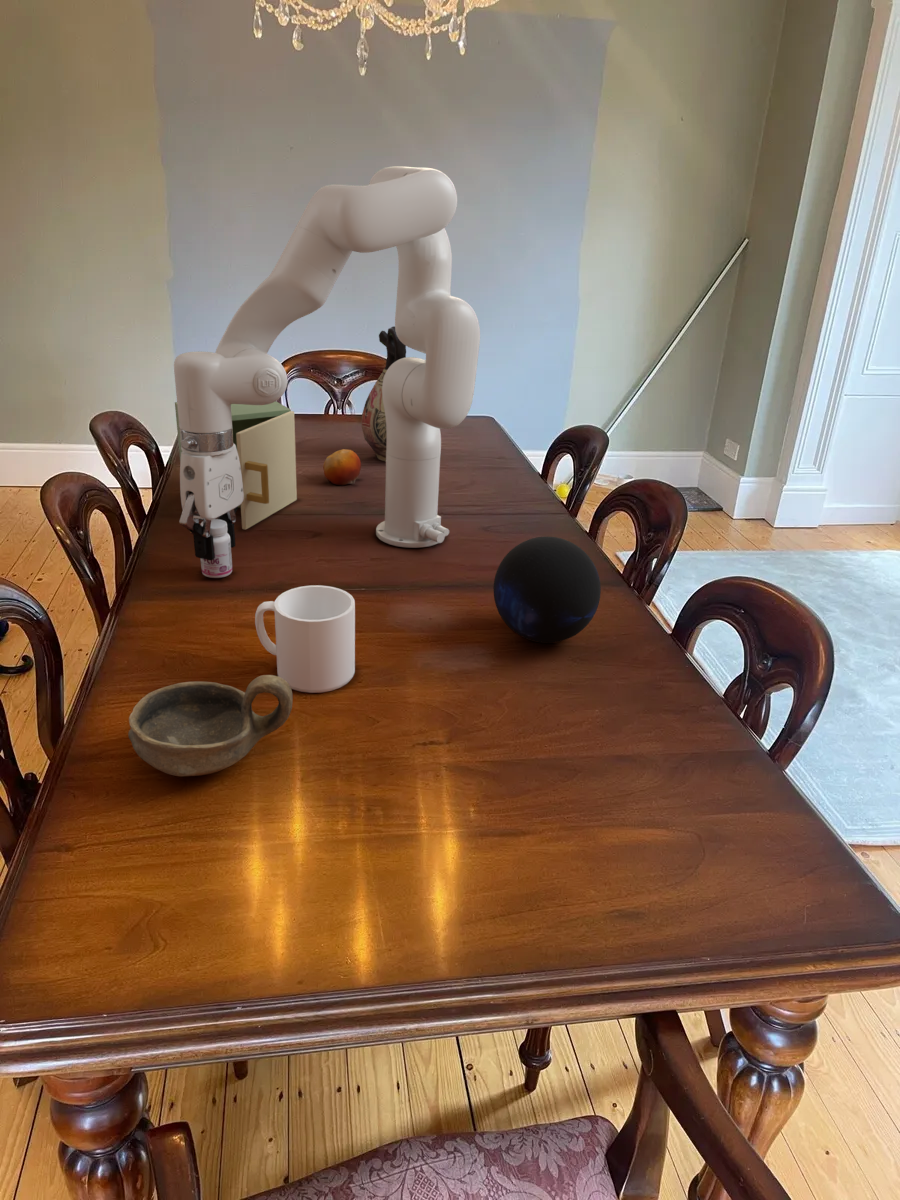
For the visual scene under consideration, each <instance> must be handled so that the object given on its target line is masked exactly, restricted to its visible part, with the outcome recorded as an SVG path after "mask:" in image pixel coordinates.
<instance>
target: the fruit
mask: <svg viewBox="0 0 900 1200" xmlns="http://www.w3.org/2000/svg"><path fill="white" fill-rule="evenodd" d="M322 465H323V466H322V467H323V468H322V469H323V474H324V477H325V478H326V480H328V481H329V482H330V483H331V484H333V485H336V486H346V485H355V482H356V480H359V481H360V478H358V477H359V475H360V472H361V469H362V463H361V459H360V457H359V456H358V454H357V453H356V452H354V450H352V449H346V448H345V449H344V448H343V449H339V450H337V451H334V452H333V453H332V454H330V455H328V456H326V459H325V460H324V461H323V464H322Z"/></svg>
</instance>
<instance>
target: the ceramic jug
mask: <svg viewBox="0 0 900 1200" xmlns="http://www.w3.org/2000/svg"><path fill="white" fill-rule="evenodd" d="M378 340H379V342H380V344H382V345H383V346H385V347H386V348H385V349H386V359H385V367H384V368H383V370H382V373H381V374H379V375H380V376H379V377H378V378H377V379H376V381H375V383H374V384H373V387H372V389H371V390H370V391H369V393H368V396H367V398H366V400H365V403H364V406H363V409H362V412H361V431H362V434H363V438H364V440H365V442H366V443H367V444H368V445H369V447H370V448H371V449H372V451H373V452H374V453H375V456H376V458H377V459H378V460H380V461H382V462H386V445H387V432H386V417H385V410H384V403H383V395H382V385H383V379H384V376H385V373H386V371H387V370H388V368H389V367H390V366H391V365H392V364H393V363H394V362H396V361H397V360H399V359H402V358H406V357H407V346H406V345H404V344H403V343H402V342H401V341H400V340H399V339H398V337H397V334H396V331H395V325H394V326H391V327H389V328H388V329H387V332H386V331H385V330H381V331H380V332H379V333H378Z"/></svg>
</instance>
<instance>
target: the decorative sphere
mask: <svg viewBox="0 0 900 1200" xmlns="http://www.w3.org/2000/svg"><path fill="white" fill-rule="evenodd" d="M601 587H602V586H601V580H600V575H599V572H598V569H597V567H596V565H595V563H594V561H593V560H592V559H591V557H590V556H589V555H588V553H587V552H585V551H584V550H583V548H581V547H580V546H579V545H577V544H575V543H574V542H572V541H569V540H567V539H564V538H561V537H557V536H537V537H532V538H529V539H527V540H524V541H523V542H521V543H518V544H517V545H515V547H513V548H512V549H510V551H509V552H507V553H506V554H505V556H504V557H503V558H502V560H501V561H500V563H499V565H498V567H497V570H496V573H495V576H494V579H493V599H494V604H495V607H496V610H497V612H498V615H499V616H500V617H501V620H503V622H504V623H505V625H506V626H507V627H508V628H510V630H511V631H513V632H514V633H515V634H517V635H518V636H520V637H522V638H524V639H526V640H529V641H531V642H536V643H542V644H553V643H558V642H564V641H566V640H568V639H571V638H573V637H574V636H576V635H578V634H580V633H581V632H582V631H583V630H584V629H586V627H587V626H588V625H590V623H591V621H592V620H593V618H594V616H595V614H596V613H597V610H598V608H599V605H600V601H601V594H602V593H601V592H602V590H601V589H602V588H601Z"/></svg>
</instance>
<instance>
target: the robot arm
mask: <svg viewBox="0 0 900 1200" xmlns="http://www.w3.org/2000/svg"><path fill="white" fill-rule="evenodd" d="M457 206H458V193H457V189H456V187H455V185H454V183H453V181H452V179H451V178H450V177H449V176H448V175H447V174H445V173H444V172H443V171H441V170H439V169H436V168H430V167H418V166H417V167H416V166H415V167H413V166H405V165H404V166H401V165H398V166H394V165H393V166H388V167H383V168H381V169H378V171H376V172H375V173H374V174H373V175H372V177H371V178H370V180H369V182H368V184H366V185H365V184H364V185H351V184H338V183H337V184H327V185H324V186H321V187H320V188H319V189H317V191H316V192H314V194H313V195H312V196H311V198H310V199H309V201H308V203H307V205H306V207H305V209H304V211H303V212H302V214H301V216H300V218H299V220H298V222H297V224H296V226H295V228H294V230H293V232H292V233H291V235H290V237H289V239H288V241H287V243H286V245H285V247H284V249H283V251H282V253H281V255H280V256H279V259H278V260H277V262H276V264H275V266H274V267H273V269H272V271H271V272H270V273H269V275H268V276H267V278H265V279H264V280H263V281H262V282H261V283H260V284H259V285H258V286H257V287H256V288H255V289H254V291H253V292H252V293H251V294H250V295H249V296H248V297H247V298H246V300H244V302H243V303H242V304H241V305H240V306H239V307H238V309H237V311H236V312H235V313H234V315H233V316H232V318H231V320H230V321H229V323H228V325H227V327H226V329H225V331H224V333H223V335H222V337H221V339H220V341H219V342H218V344H217V347H216V349H215V352H212V351H200V350H199V351H187V352H183V353H180V354H179V355H177V356H176V357H175V359H174V362H173V370H174V371H173V372H174V373H173V374H174V384H175V394H176V402H177V407H178V418H179V427H180V439H181V449H182V452H181V461H180V460H179V462H180V464H179V466H180V467H179V493H180V503H181V509H182V512H181V515H180V518H179V521H178V522H179V525H180V526H182V527H183V528H185V529H186V530H188V531H189V533H190V534H191V535H192V536H193V545H194V546H193V547H194V548H193V549H194V556H195V557H196V558H198V559H201V558H202V559H207V560H213V559H214V557H215V556H214V543H213V536H211V535H210V527H211V520H213V519H220V520H224V521H226V522H227V529H228V530H227V533H228V534H229V535H230V540H231V549H232V548H235V547H236V532H235V531H236V530H235V523H236V521H237V515H236V513H237V512H238V509H239V508H238V506H239V505H240V504H241V503H242V502H243V499H244V494H243V482H242V474H241V467H240V461H239V456H238V452H237V449H236V446H235V444H234V443H233V430H232V414H231V404H244V405H267V404H270V403H273V402H275V401H276V402H278V401H279V399H280V398H281V397H282V396H283V395H284V394H285V392H286V390H287V388H288V376H287V372H286V369H285V367H284V365H282V363H281V362H280V361H279V360H278V359H277V358H276V357H273V356H272V355H271V354H269V351H270V349H271V347H272V345H273V344H274V342H275V341H276V339H277V338H278V337H279V336H280V334H281V333H282V332H284V330H285V329H286V328H287V327H289V326H290V325H291V324H292V323H294V322H296V321H298V320H300V319H302V318H304V317H306V316H308V315H310V314H312V313H315V311H318V310H319V309H320V308H322V307H323V306H324V305H325V303H326V302H327V300H328V297H329V296H330V294H331V292H332V291H333V288H334V287H335V284H336V283H337V280H338V278H340V277H339V276H340V275H341V273H342V271H343V270H344V267H345V265H346V264H347V262H348V260H349V258H350V257H351V254H352V252H355V253H359V254H360V253H362V254H365V253H366V254H367V253H375V252H379V251H383V250H388V249H390V248H394V247H396V251H397V257H398V258H397V259H398V276H397V287H396V289H397V290H396V302H395V312H394V313H395V316H394V326H395V331H396V334H397V337H398V339H399V340H400V341H401V342H402V343H403V344H404V345H406V348H407V347H408V348H410V349H412V350H414V351H417V352H420V353H423V354H425V359H423V358H420V357H416V356H415V357H414V356H406V358H402V359H399V360H397V361H396V362H394V363H393V364H392V365H391V366H390V367H389V368H388V370H387V371H386V373H385V376H384V379H383V385H382V395H383V403H384V410H385V417H386V432H387V445H386V461H385V488H384V489H385V490H384V491H385V493H384V497H385V498H384V499H385V500H384V520H383V521H381V522H379V523H378V524H377V526H376V527H375V535H376V537H377V538H378V539H379V540H380V541H381V542H383V543H385V544H388V545H391V546H394V547H399V548H406V549H420V548H428V547H432V546H435V545H438V544H441V543H443V542H444V541H445V538H446V537H448V536H449V534H450V530H449V528H446V527H444V526H443V525H442V516H441V515H439V514H438V509H439V491H440V471H441V470H440V469H441V455H442V454H441V453H442V435H441V430H450V429H451V430H452V429H453V428H456V427H458V426H459V425H460V424H461V423H462V422H464V420H466V418H467V417H468V414H469V412H470V410H471V407H472V405H473V400H474V395H475V387H476V379H477V370H478V361H479V353H480V343H481V328H480V327H481V326H480V322H479V319H478V316H477V313H476V312H475V309H474V308H473V306H472V305H470V304H469V302H467V301H466V300H464V299H462V298H460V297H457V296H453V295H451V294H452V293H451V292H452V291H451V289H452V271H453V270H452V269H453V268H452V267H453V254H452V253H453V252H452V246H451V242H450V237H449V235H448V232H447V230H446V227H448V226H449V224H450V223H451V222H452V220H453V218H454V216H455V215H456V212H457V208H458V207H457ZM200 521H202V522H203V527H202V526H201V523H199V522H200Z"/></svg>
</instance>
